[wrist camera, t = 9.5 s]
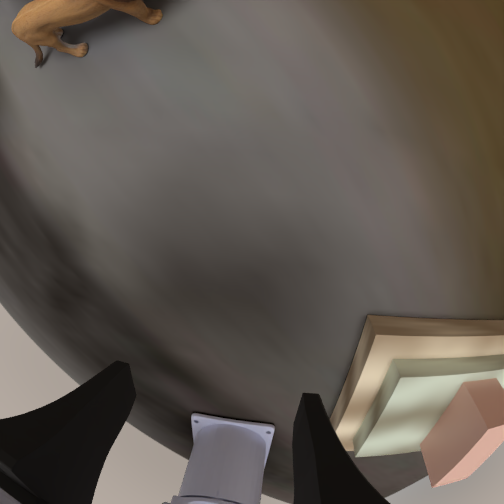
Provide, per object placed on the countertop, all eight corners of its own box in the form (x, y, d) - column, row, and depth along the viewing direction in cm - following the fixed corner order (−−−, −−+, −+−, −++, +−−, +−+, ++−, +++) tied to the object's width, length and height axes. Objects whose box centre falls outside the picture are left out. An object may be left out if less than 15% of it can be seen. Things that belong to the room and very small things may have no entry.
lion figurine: (196, -44, 12) (151, -115, 4) (214, 4, 14) (167, -73, 6) (38, 45, 15) (-40, 31, 7) (44, 94, 17) (-43, 92, 8)
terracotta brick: (452, 439, 19) (466, 478, 14) (419, 444, 19) (432, 487, 14) (496, 377, 16) (521, 419, 11) (463, 382, 16) (488, 429, 12)
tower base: (476, 417, 23) (489, 443, 19) (324, 431, 25) (326, 467, 21) (533, 319, 19) (556, 343, 14) (367, 314, 20) (383, 353, 16)
